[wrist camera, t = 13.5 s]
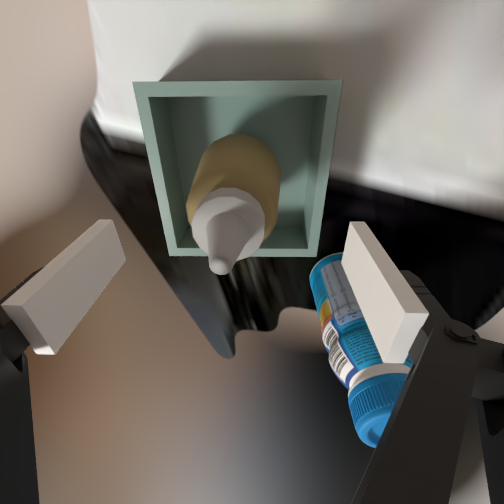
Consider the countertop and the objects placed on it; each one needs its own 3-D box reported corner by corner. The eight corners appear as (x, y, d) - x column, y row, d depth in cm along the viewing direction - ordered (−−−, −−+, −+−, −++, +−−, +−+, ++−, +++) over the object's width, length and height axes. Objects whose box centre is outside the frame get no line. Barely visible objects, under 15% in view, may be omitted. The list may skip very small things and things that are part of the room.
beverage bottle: (347, 237, 34) (434, 390, 17) (380, 276, 37) (480, 436, 20) (295, 272, 37) (325, 430, 20) (330, 305, 40) (380, 464, 24)
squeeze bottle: (208, 119, 26) (135, 170, 11) (287, 136, 27) (324, 207, 11) (201, 196, 30) (142, 309, 15) (269, 209, 31) (279, 330, 16)
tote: (157, 81, 25) (132, 81, 20) (326, 80, 25) (342, 79, 20) (182, 230, 34) (169, 255, 29) (307, 230, 33) (316, 256, 28)
